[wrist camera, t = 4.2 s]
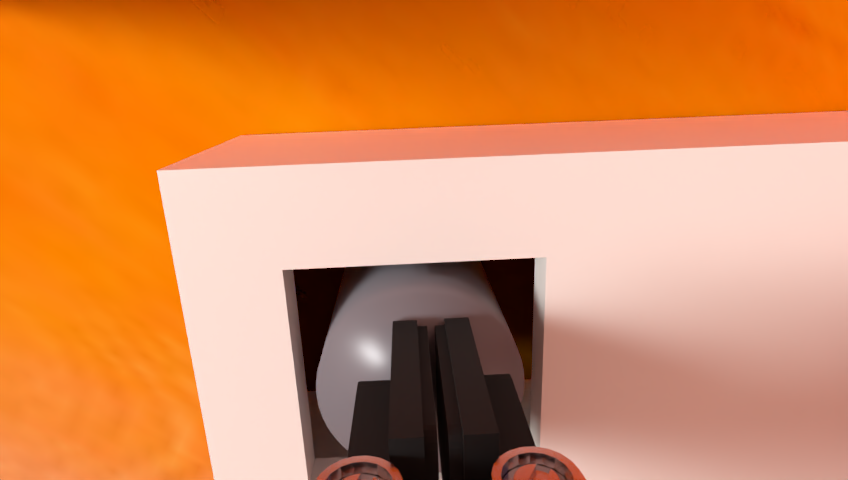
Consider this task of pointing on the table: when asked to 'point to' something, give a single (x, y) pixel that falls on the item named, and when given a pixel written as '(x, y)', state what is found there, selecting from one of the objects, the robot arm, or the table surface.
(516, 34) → the table surface
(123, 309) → the table surface
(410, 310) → the grey rounded cylinder
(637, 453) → the box
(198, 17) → the table surface
